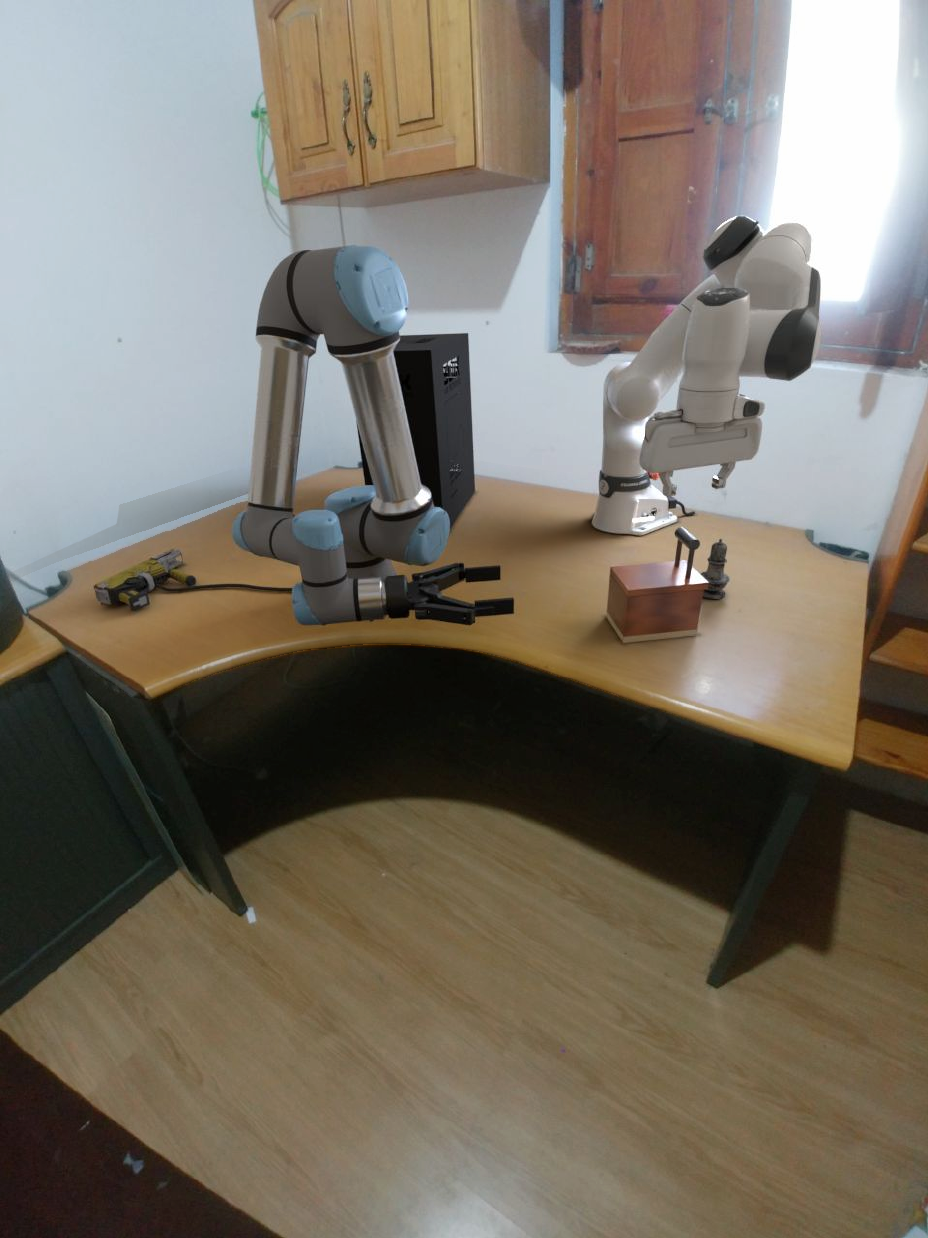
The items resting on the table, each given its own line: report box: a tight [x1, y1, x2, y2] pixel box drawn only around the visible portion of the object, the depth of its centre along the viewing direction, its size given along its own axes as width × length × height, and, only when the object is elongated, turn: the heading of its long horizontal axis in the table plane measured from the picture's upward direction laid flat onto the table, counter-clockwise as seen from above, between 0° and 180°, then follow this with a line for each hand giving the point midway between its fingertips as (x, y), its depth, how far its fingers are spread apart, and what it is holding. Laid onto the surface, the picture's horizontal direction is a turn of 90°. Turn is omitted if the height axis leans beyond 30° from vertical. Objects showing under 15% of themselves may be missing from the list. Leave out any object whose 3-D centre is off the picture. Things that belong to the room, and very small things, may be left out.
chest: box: [605, 573, 704, 644], centre depth 112 cm, size 14×10×10 cm
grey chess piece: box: [699, 538, 731, 600], centre depth 121 cm, size 6×6×12 cm
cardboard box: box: [355, 332, 476, 529], centre depth 164 cm, size 38×20×45 cm, turn 167°
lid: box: [609, 526, 709, 597], centre depth 107 cm, size 14×10×9 cm
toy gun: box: [93, 548, 197, 612], centre depth 139 cm, size 5×24×15 cm
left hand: (506, 588), depth 106 cm, fingers open, 13 cm apart
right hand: (693, 491), depth 102 cm, fingers open, 8 cm apart
